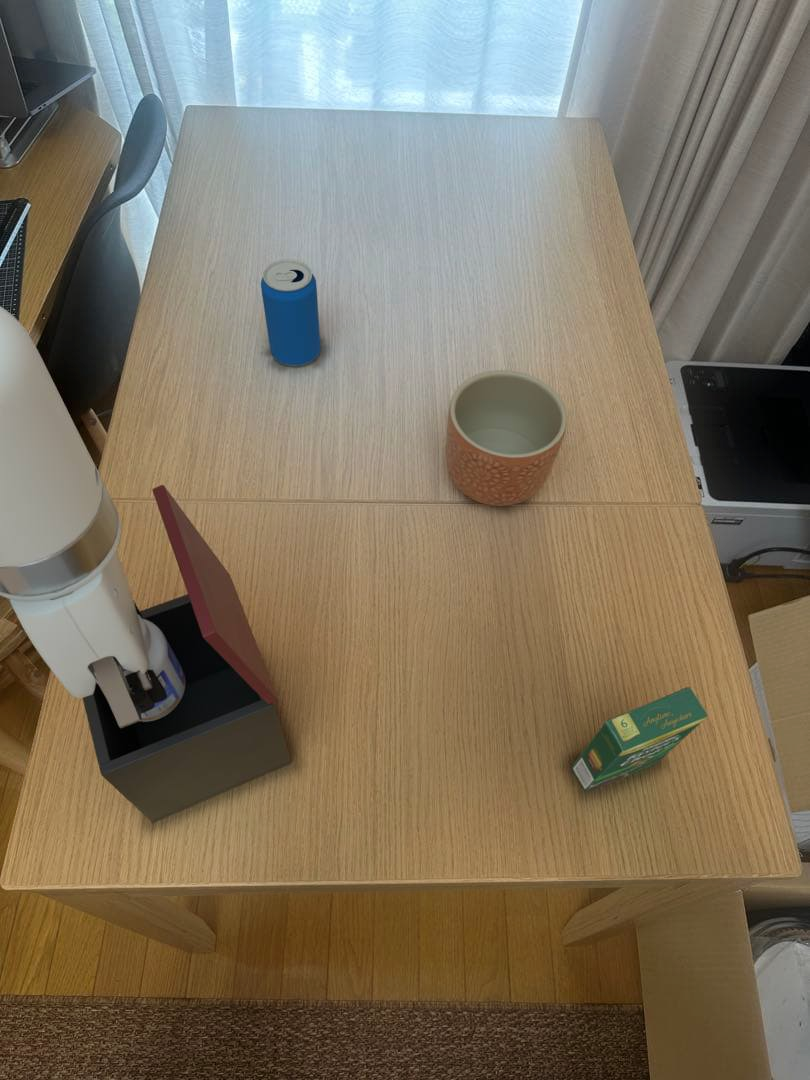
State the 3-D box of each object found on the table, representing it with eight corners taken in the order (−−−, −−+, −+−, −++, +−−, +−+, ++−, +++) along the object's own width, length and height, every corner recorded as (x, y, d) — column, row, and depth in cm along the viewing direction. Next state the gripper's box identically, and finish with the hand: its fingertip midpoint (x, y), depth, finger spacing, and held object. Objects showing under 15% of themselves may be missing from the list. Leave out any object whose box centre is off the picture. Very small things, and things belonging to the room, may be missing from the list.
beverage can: (323, 368, 94) (318, 290, 84) (272, 372, 94) (261, 294, 84) (318, 333, 98) (312, 254, 88) (269, 337, 97) (257, 258, 87)
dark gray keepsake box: (153, 823, 64) (100, 775, 51) (121, 705, 69) (67, 636, 57) (291, 763, 67) (274, 705, 55) (251, 655, 73) (226, 579, 60)
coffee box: (581, 797, 66) (623, 752, 55) (566, 767, 68) (604, 717, 57) (658, 765, 68) (713, 716, 57) (642, 737, 70) (693, 683, 59)
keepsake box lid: (202, 637, 42) (215, 631, 42) (151, 488, 48) (163, 483, 48) (268, 705, 54) (278, 700, 54) (221, 579, 60) (230, 575, 60)
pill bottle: (129, 652, 59) (89, 592, 50) (196, 662, 58) (167, 603, 50) (104, 718, 56) (58, 665, 48) (174, 729, 55) (140, 677, 47)
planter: (419, 482, 85) (425, 417, 76) (479, 420, 91) (491, 352, 81) (509, 539, 81) (527, 478, 72) (566, 470, 87) (590, 405, 78)
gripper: (-60, 428, 41) (57, 588, 56) (-15, 698, 33) (107, 800, 48) (78, 390, 43) (155, 555, 58) (153, 636, 35) (220, 753, 50)
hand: (133, 665), depth 53 cm, fingers closed on pill bottle, 5 cm apart
